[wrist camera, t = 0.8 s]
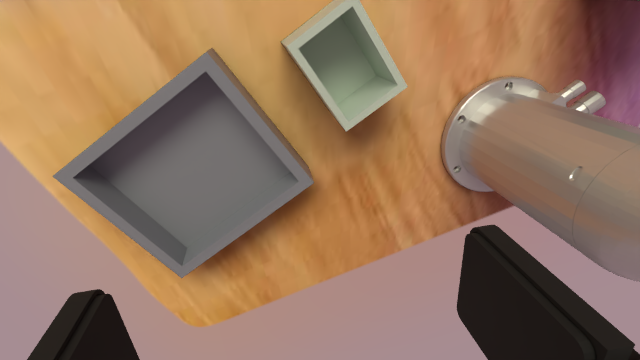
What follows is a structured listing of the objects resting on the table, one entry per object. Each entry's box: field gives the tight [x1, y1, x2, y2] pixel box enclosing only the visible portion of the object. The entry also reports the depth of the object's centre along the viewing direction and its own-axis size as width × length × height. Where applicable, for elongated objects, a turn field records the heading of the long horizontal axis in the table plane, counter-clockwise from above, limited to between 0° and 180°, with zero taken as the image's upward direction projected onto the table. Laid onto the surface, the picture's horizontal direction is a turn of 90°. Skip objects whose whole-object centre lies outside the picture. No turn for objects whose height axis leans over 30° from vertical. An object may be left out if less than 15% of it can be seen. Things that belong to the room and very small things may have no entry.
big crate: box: [53, 48, 314, 278], centre depth 32 cm, size 16×14×4 cm
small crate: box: [281, 0, 408, 132], centre depth 29 cm, size 6×8×6 cm
